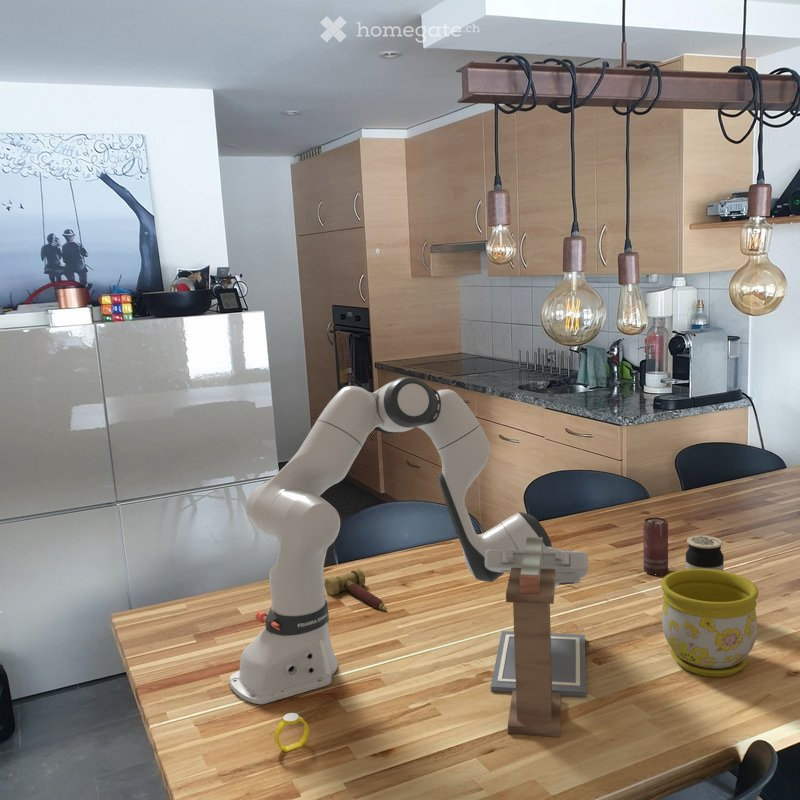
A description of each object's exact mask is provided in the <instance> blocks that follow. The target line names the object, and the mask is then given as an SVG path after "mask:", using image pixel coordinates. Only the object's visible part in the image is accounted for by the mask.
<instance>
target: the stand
mask: <svg viewBox="0 0 800 800" xmlns="http://www.w3.org/2000/svg"><path fill="white" fill-rule="evenodd" d="M520 574H521V568H511V571H510V573H509V578H508V581H507V586H506V591H505V603H512V608H513V610H512V611H513V616H512V617H513V631H514V645H515V675H516V690H513V692H511V700H510V707H509V713H508V714H509V715H508V722H507V734H510V735H512V734H513V735H524V736H526V735H527V736H536V737H537V736H539V737H554V738H561V721H562V720H561V717H562V716H561V715H562V696H561V693H552V665H551V633H552V632H551V605H554V604H555V592H556V591H555V590H556V588H555V569H541V575H540V584H539V594H528V593H520V578H519V576H520Z"/></svg>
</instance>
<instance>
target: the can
mask: <svg viewBox="0 0 800 800" xmlns="http://www.w3.org/2000/svg"><path fill="white" fill-rule="evenodd" d="M643 570H644V572H645V573H646V572H647V573H649V574H648V575H650V574H653V575H652V576H655V574H656V575H661V574H665V573H666V574H667V573H668V572H669V523H668V521H667V519H665V518H663V517H662V518H661V517H648V518H645V519H644V521H643ZM647 573H646V574H647ZM666 574H665V575H666ZM661 576H662V575H661Z"/></svg>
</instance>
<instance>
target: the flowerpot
mask: <svg viewBox="0 0 800 800" xmlns="http://www.w3.org/2000/svg"><path fill="white" fill-rule="evenodd" d="M660 586H661V589H662V591H663V592H662V598H663V603H662V612H661V624H662V632H663V634H664V638H665V640H666V641H667V644H668V646H670V648H671V649H670V654H671V657H672V658H673V660H674V661H676V663H677V664H678V665H679V667H681V668H683V669H684V670H686V671H688V672H690V673H693V674H696V675H699V676H703V677H704V676H705V677H711V678H712V677H713V678H719V677H720V678H721V677H728V676H732V675H735V674H737V673H739V671H740V670H741V669H743V668H744V667H745V666H746V665H747V661H748V659H747V657H748V655H749V654H750V653H751V651H752V649H753V648H754V645H755V643H756V639H757V635H758V619H757V612H756V608H757V601H756V600H757V599H758V597H759V589H758V587H757V585H755V583H754V582H753V581H751V580H750V579H748V578H746V577H744V576H742V575H739V574H736V573H733V572H730V571H724V570H723V571H720V570H713V569H686V568H685V569H682V570H676V571H673V572H670V573H668V574H666V575H664V576H663V578H662V580H661V585H660Z"/></svg>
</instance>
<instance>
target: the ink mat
mask: <svg viewBox="0 0 800 800" xmlns="http://www.w3.org/2000/svg"><path fill="white" fill-rule="evenodd" d="M585 637H586V635H585V634H581V633H579V634H577V633H557V632H556V633H555V632H551V665H552V693H561V697H563V696H564V697H580V698H581V697H582V698H586V697H587V678H586V677H587V676H586V672H587V670H586V669H587V667H586V638H585ZM513 690H516V675H515V645H514V630H513V631H511V630H509V631H508V630H501V634H500V637H499V643H498V647H497V653H496V659H495V663H494V669H493V674H492V679H491V684H490V692H496V691H497V693H498V692H499V693H500V692H501V693H512V692H513Z"/></svg>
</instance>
